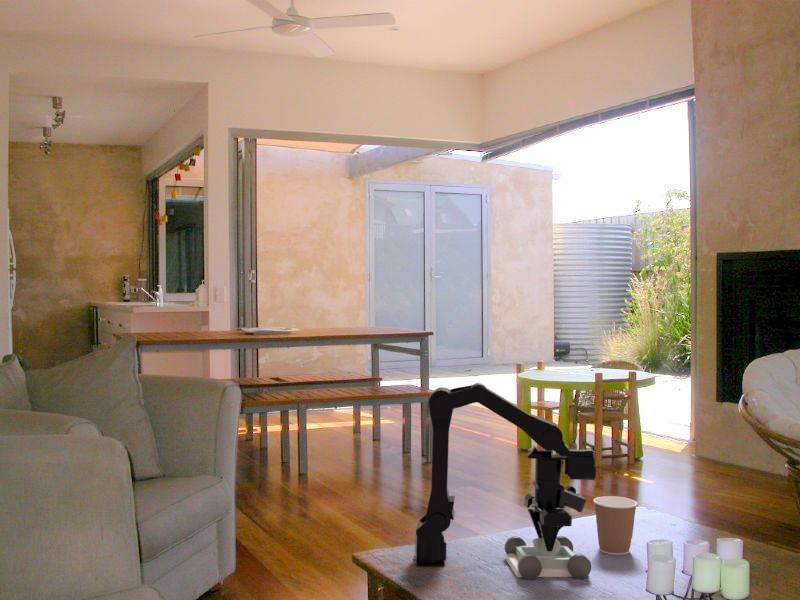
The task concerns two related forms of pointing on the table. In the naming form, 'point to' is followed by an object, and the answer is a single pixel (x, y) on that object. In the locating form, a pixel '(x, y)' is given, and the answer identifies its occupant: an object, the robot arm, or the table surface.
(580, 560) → the toy chassis
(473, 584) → the table surface
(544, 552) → the white figurine
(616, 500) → the coffee cup
